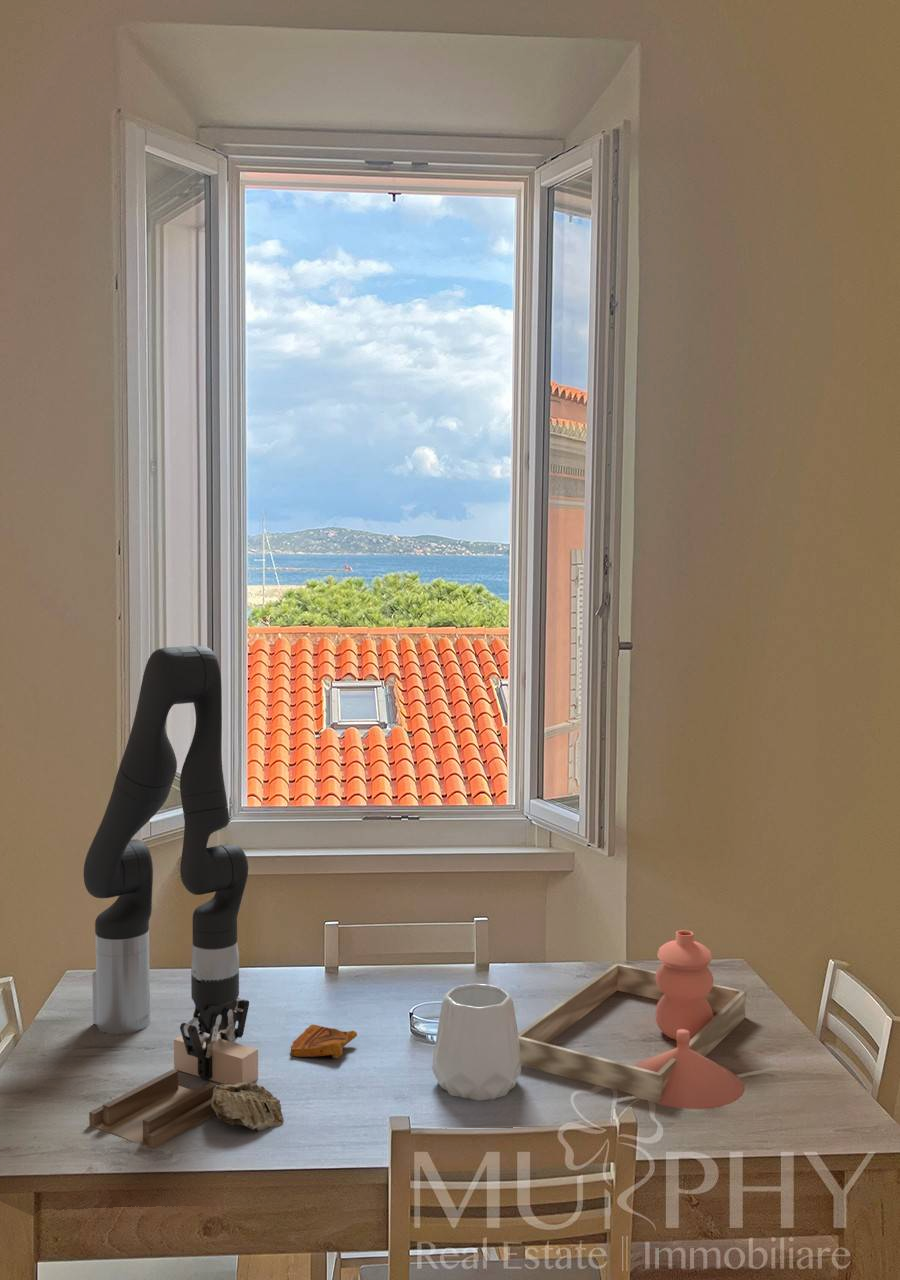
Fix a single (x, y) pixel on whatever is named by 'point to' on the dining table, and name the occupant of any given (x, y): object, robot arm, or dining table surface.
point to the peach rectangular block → (221, 1061)
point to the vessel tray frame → (612, 1072)
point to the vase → (477, 1043)
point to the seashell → (247, 1106)
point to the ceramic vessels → (688, 1028)
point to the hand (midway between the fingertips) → (215, 1071)
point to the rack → (155, 1111)
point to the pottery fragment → (321, 1042)
